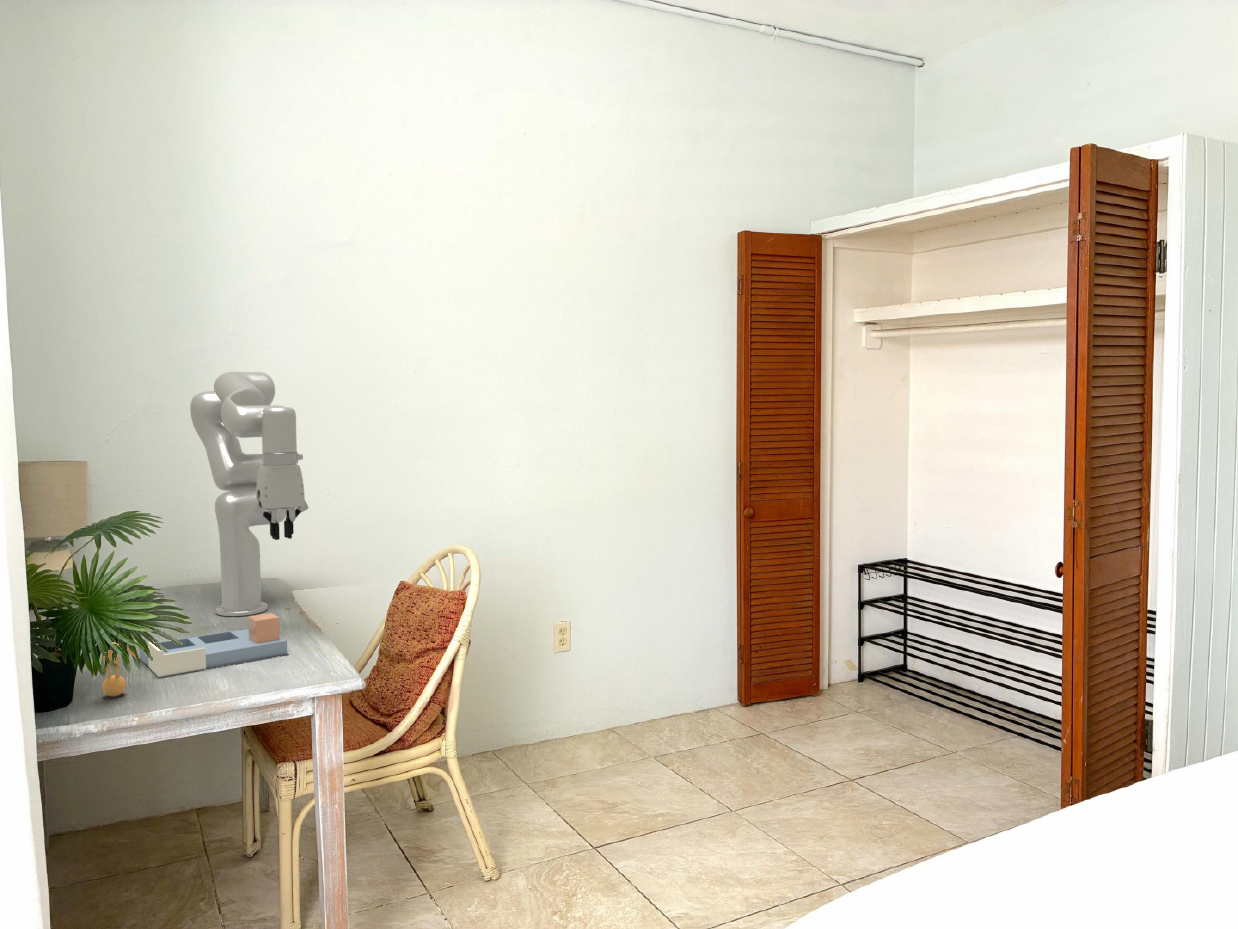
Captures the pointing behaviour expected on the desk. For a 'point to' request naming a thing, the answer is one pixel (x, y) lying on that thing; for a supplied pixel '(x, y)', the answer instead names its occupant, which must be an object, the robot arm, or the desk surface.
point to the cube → (263, 628)
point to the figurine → (114, 677)
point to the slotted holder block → (209, 652)
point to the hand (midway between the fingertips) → (281, 537)
